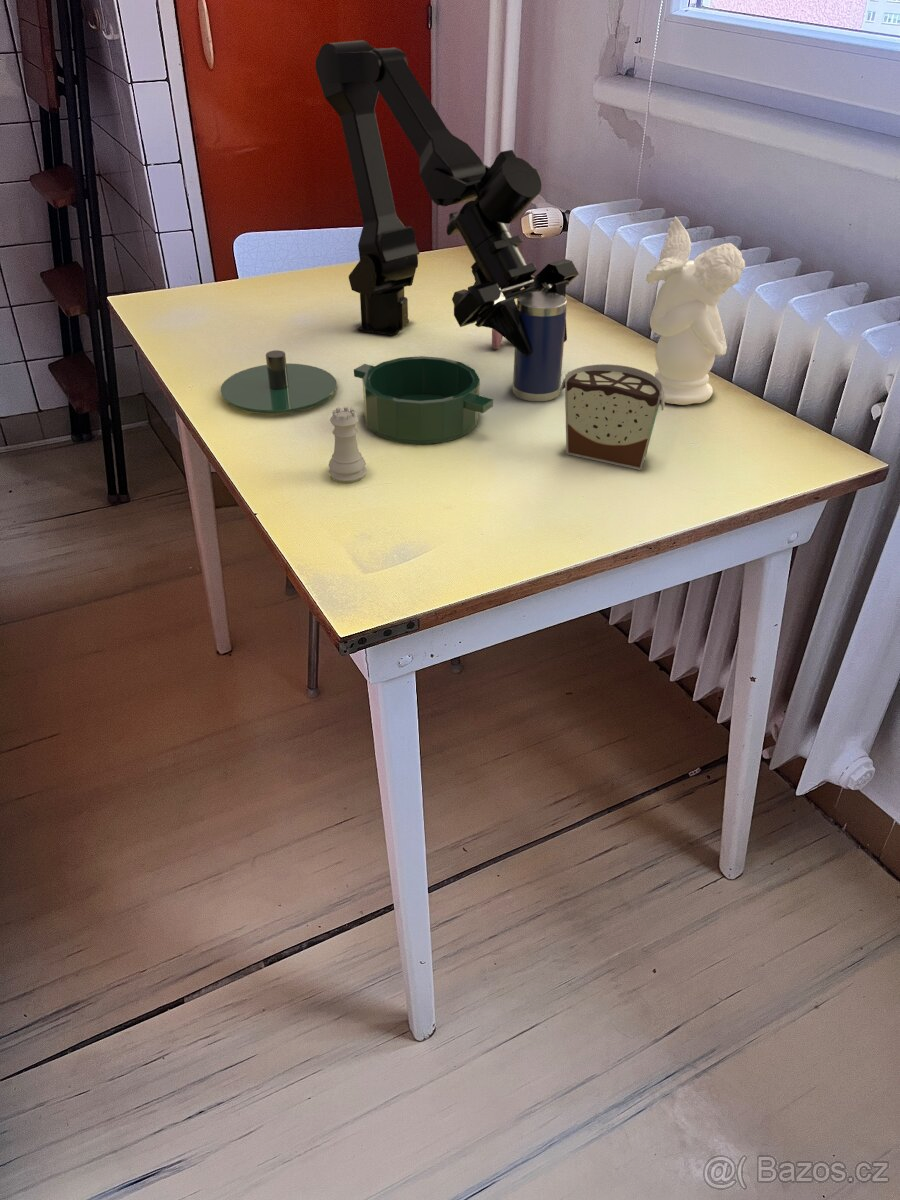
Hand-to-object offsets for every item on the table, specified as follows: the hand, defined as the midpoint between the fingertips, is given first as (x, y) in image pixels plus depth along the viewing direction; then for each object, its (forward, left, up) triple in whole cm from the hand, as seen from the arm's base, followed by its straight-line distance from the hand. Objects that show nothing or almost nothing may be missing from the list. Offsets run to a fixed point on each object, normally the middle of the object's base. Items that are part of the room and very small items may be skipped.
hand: (546, 348), depth 124 cm
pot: (-13, -12, -7) cm, 19 cm away
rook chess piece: (-16, -29, -7) cm, 34 cm away
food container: (+12, -13, -7) cm, 19 cm away
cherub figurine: (+16, +6, -7) cm, 18 cm away
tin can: (-1, +1, -7) cm, 7 cm away
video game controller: (-7, +17, -7) cm, 19 cm away
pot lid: (-34, -11, -6) cm, 37 cm away
